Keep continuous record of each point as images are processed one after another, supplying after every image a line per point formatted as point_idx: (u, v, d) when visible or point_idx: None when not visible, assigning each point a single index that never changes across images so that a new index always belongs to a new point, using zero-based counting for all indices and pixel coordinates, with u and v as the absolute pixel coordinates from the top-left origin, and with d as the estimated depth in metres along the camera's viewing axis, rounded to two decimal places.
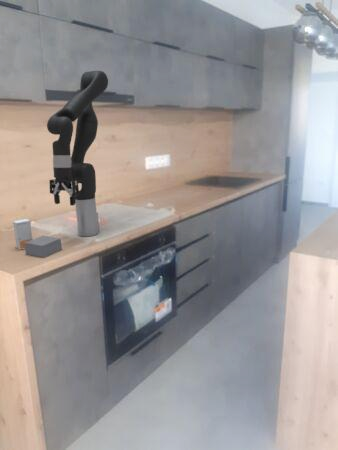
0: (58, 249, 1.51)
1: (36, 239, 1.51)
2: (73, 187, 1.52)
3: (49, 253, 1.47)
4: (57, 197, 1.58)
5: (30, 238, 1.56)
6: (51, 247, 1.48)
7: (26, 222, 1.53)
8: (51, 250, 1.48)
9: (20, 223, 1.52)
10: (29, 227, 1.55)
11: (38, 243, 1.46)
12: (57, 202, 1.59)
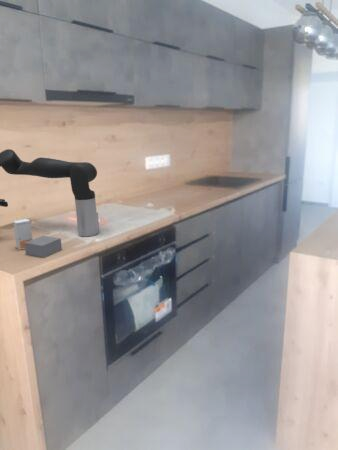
0: (58, 249, 1.51)
1: (36, 239, 1.51)
2: None
3: (49, 253, 1.47)
4: None
5: (30, 238, 1.56)
6: (51, 247, 1.48)
7: (26, 222, 1.53)
8: (51, 250, 1.48)
9: (20, 223, 1.52)
10: (29, 227, 1.55)
11: (38, 243, 1.46)
12: None
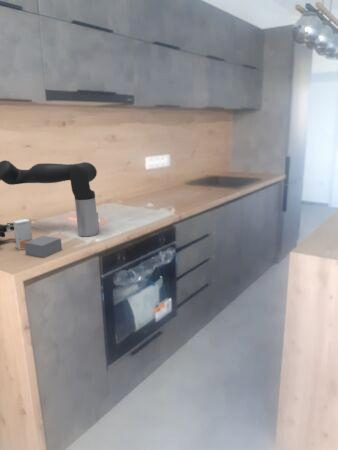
0: (58, 249, 1.51)
1: (36, 239, 1.51)
2: (11, 223, 1.66)
3: (49, 253, 1.47)
4: None
5: (30, 238, 1.56)
6: (51, 247, 1.48)
7: (26, 222, 1.53)
8: (51, 250, 1.48)
9: (20, 223, 1.52)
10: (29, 227, 1.55)
11: (38, 243, 1.46)
12: None
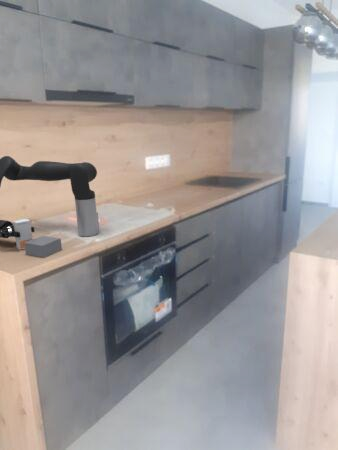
0: (58, 249, 1.51)
1: (36, 239, 1.51)
2: None
3: (49, 253, 1.47)
4: None
5: (30, 238, 1.56)
6: (51, 247, 1.48)
7: (26, 222, 1.53)
8: (51, 250, 1.48)
9: (20, 223, 1.52)
10: (29, 227, 1.55)
11: (38, 243, 1.46)
12: None
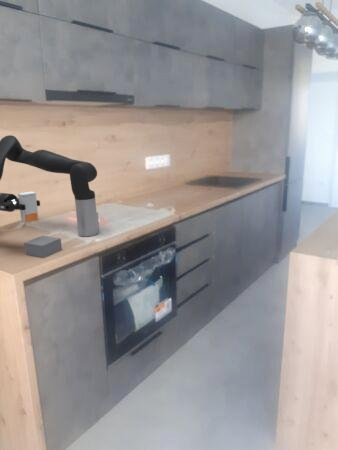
0: (58, 249, 1.51)
1: (36, 239, 1.51)
2: None
3: (49, 253, 1.47)
4: None
5: (35, 211, 1.49)
6: (51, 247, 1.48)
7: (31, 194, 1.46)
8: (51, 250, 1.48)
9: (25, 195, 1.45)
10: (35, 200, 1.47)
11: (38, 243, 1.46)
12: None
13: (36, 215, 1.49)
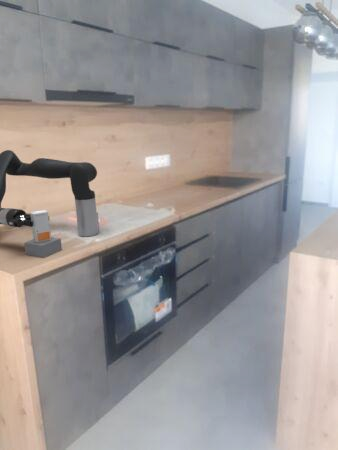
0: (58, 249, 1.51)
1: None
2: None
3: (49, 253, 1.47)
4: None
5: (48, 230, 1.48)
6: (51, 247, 1.48)
7: (44, 213, 1.46)
8: (51, 250, 1.48)
9: (38, 214, 1.45)
10: (47, 219, 1.47)
11: (38, 243, 1.46)
12: None
13: (48, 234, 1.49)
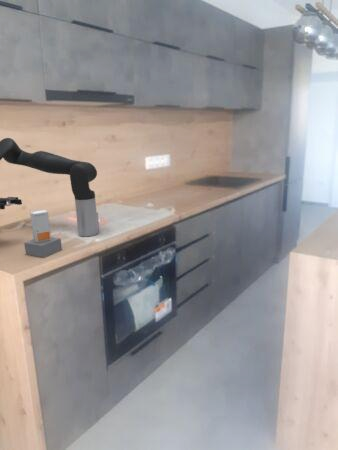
0: (58, 249, 1.51)
1: None
2: (12, 197, 1.60)
3: (49, 253, 1.47)
4: None
5: (48, 230, 1.48)
6: (51, 247, 1.48)
7: (44, 213, 1.46)
8: (51, 250, 1.48)
9: (38, 214, 1.45)
10: (47, 219, 1.47)
11: (38, 243, 1.46)
12: None
13: (48, 234, 1.49)
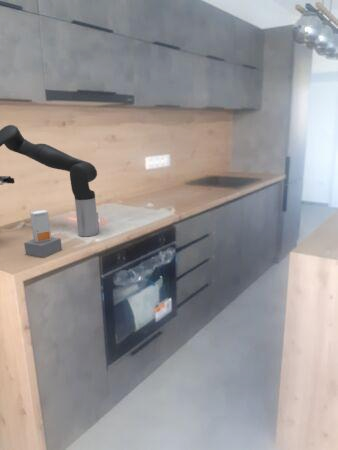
0: (58, 249, 1.51)
1: None
2: (4, 176, 1.60)
3: (49, 253, 1.47)
4: None
5: (48, 230, 1.48)
6: (51, 247, 1.48)
7: (44, 213, 1.46)
8: (51, 250, 1.48)
9: (38, 214, 1.45)
10: (47, 219, 1.47)
11: (38, 243, 1.46)
12: None
13: (48, 234, 1.49)
